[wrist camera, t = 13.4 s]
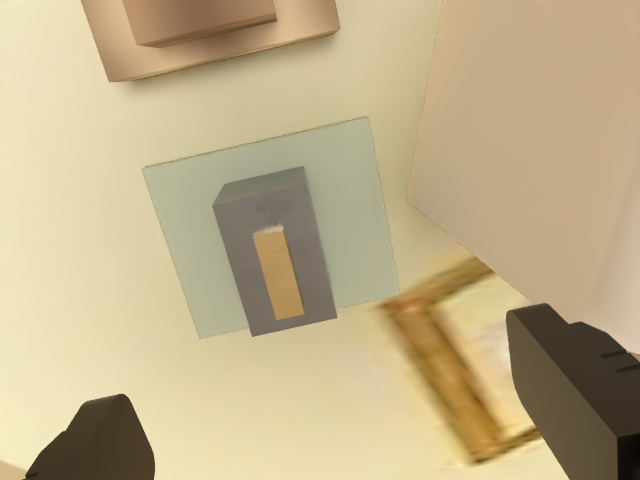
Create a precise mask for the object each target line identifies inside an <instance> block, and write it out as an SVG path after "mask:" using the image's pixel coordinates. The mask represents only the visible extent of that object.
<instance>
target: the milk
mask: <svg viewBox="0 0 640 480" xmlns="http://www.w3.org/2000/svg"><path fill="white" fill-rule="evenodd" d="M406 200H407V201H408V202H409V203H411V204H412V205H413V206H414V207H416V208H417V209H418V210H419V211H421V212H422V213H423V214H424V215H425V216H427V217H428V218H429V219H430V220H432V221H433V222H434V223H435V224H436V225H438V226H439V227H440V228H441V229H443V230H444V231H445V232H446V233H448V234H449V235H450V236H451V237H452V238H454V239H455V240H456V241H457V242H459V243H460V244H461V245H462V246H463V247H465V248H466V249H467V250H468V251H470V252H471V253H472V254H473V255H475V256H476V257H477V258H478V259H479V260H481V261H482V262H483V263H484V264H486V265H487V266H488V267H489V268H490V269H492V270H493V271H494V272H495V273H497V274H498V275H499V276H500V277H501V278H503V279H504V280H505V281H506V282H508V283H509V284H510V285H511V286H513V287H514V288H515V289H516V290H517V291H519V292H520V293H521V294H522V295H524V296H525V297H526V298H527V299H528V300H530V301H531V302H532V303H533V304H535V305H537V304H542V303H547V304H549V305H550V306H551V307H552V308H553V309H554V310H555V311H556V312H557V313H558V314H559V315H560V316H561V317H562V318H563V319H564V320H565V321H566V322H567V323H568V324H571V323H575V322H580V321H582V322H584V323H586V324H588V325H591V326H593V327H595V328H597V329H600V330H602V331H604V332H606V333H608V334H609V335H610V336H611V337H612V338H614V339H615V340H616V341H617V342H618V343H619V344H620V345H621V346H622V347H624V348H625V349H626V351H630V352H634V353H637V354H640V0H443V1H442V7H441V12H440V18H439V23H438V29H437V34H436V40H435V45H434V51H433V56H432V62H431V67H430V73H429V78H428V84H427V89H426V95H425V100H424V106H423V111H422V117H421V122H420V128H419V133H418V139H417V144H416V150H415V155H414V160H413V166H412V171H411V177H410V182H409V188H408V193H407V199H406Z"/></svg>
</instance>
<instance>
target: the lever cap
mask: <svg viewBox="0 0 640 480" xmlns="http://www.w3.org/2000/svg"><path fill="white" fill-rule="evenodd" d="M212 207H213V211H214V214H215V217H216V220H217V224H218V227H219V230H220V233H221V237H222V240H223V243H224V246H225V250H226V253H227V256H228V259H229V263H230V266H231V269H232V272H233V276H234V279H235V282H236V286H237V289H238V292H239V295H240V299H241V302H242V305H243V308H244V312H245V315H246V318H247V321H248V325H249V328H250V331H251V334H252V337H253V336H258V335H262V334H267V333H271V332H276V331H280V330H285V329H289V328H294V327H298V326H303V325H307V324H312V323H316V322H321V321H325V320H330V319H334V318H337V313H336V307H335V302H334V296H333V290H332V285H331V280H330V276H329V271H328V267H327V263H326V259H325V254H324V250H323V246H322V242H321V237H320V233H319V229H318V224H317V220H316V216H315V212H314V207H313V203H312V199H311V195H310V190H309V186H308V182H307V178H306V173H305V169H304V166H300V167H295V168H291V169H287V170H282V171H278V172H274V173H269V174H265V175H261V176H256V177H252V178H248V179H243V180H239V181H235V182H230V183H226V184H224V185H223V187H222V189H221V191H220V192H219V194H218V196H217V197H216V199H215V201H214V203H213V204H212Z"/></svg>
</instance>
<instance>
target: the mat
mask: <svg viewBox="0 0 640 480" xmlns="http://www.w3.org/2000/svg"><path fill="white" fill-rule="evenodd" d="M300 166H304V169H305V173H306V178H307V182H308V186H309V190H310V195H311V199H312V203H313V207H314V212H315V216H316V220H317V224H318V229H319V233H320V237H321V242H322V246H323V250H324V254H325V259H326V263H327V267H328V271H329V276H330V280H331V285H332V290H333V296H334V302H335V307H336V309H338V308H343V307H347V306H352V305H356V304H361V303H365V302H370V301H375V300H379V299H384V298H388V297H393V296H397V295H400V292H399V286H398V280H397V275H396V269H395V264H394V258H393V253H392V247H391V241H390V236H389V230H388V225H387V219H386V214H385V208H384V202H383V197H382V191H381V186H380V180H379V174H378V169H377V163H376V158H375V152H374V147H373V141H372V135H371V130H370V124H369V119H368V117H362V118H358V119H353V120H349V121H345V122H340V123H336V124H331V125H327V126H323V127H318V128H314V129H310V130H305V131H301V132H296V133H292V134H288V135H283V136H279V137H274V138H270V139H266V140H261V141H257V142H253V143H248V144H244V145H239V146H235V147H231V148H226V149H222V150H217V151H213V152H209V153H204V154H200V155H196V156H191V157H187V158H182V159H178V160H174V161H169V162H165V163H160V164H156V165H152V166H147V167H144V168H143V169H141V170H142V173H143V176H144V179H145V182H146V185H147V187H148V190H149V193H150V196H151V199H152V202H153V205H154V208H155V211H156V214H157V216H158V219H159V222H160V225H161V228H162V231H163V234H164V237H165V240H166V242H167V245H168V248H169V251H170V254H171V257H172V260H173V263H174V266H175V269H176V271H177V274H178V277H179V280H180V283H181V286H182V289H183V292H184V295H185V298H186V300H187V303H188V306H189V309H190V312H191V315H192V318H193V321H194V324H195V326H196V329H197V332H198V335H199V338H200V339H202V338H206V337H211V336H215V335H220V334H224V333H229V332H233V331H238V330H243V329H247V328H249V325H248V321H247V318H246V315H245V312H244V308H243V305H242V302H241V299H240V295H239V292H238V289H237V286H236V282H235V279H234V276H233V272H232V269H231V266H230V263H229V259H228V256H227V253H226V250H225V246H224V243H223V240H222V237H221V233H220V230H219V227H218V224H217V220H216V217H215V214H214V211H213V207H212V204H213V203H214V201H215V199H216V197H217V196H218V194H219V192H220V191H221V189H222V187H223V185H224V184H226V183H230V182H235V181H239V180H243V179H248V178H252V177H256V176H261V175H265V174H269V173H274V172H278V171H282V170H287V169H291V168H295V167H300Z"/></svg>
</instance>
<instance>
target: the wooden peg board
mask: <svg viewBox="0 0 640 480" xmlns="http://www.w3.org/2000/svg"><path fill="white" fill-rule="evenodd" d="M81 2H82V5H83V8H84V11H85V14H86V17H87V19H88V22H89V25H90V28H91V31H92V34H93V37H94V40H95V43H96V45H97V48H98V51H99V54H100V57H101V60H102V63H103V66H104V69H105V71H106V74H107V77H108V80H109V82H120V81H132V80H137V79H141V78H146V77H150V76H154V75H159V74H163V73H167V72H172V71H176V70H180V69H184V68H189V67H193V66H197V65H202V64H206V63H210V62H215V61H219V60H223V59H228V58H232V57H236V56H240V55H245V54H249V53H253V52H258V51H262V50H266V49H271V48H275V47H279V46H283V45H288V44H292V43H296V42H301V41H305V40H309V39H314V38H318V37H322V36H327V35H331V34H334V33H336V32H337V31H338V30H339V29H340V25H339V19H338V14H337V9H336V3H335V0H81Z"/></svg>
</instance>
